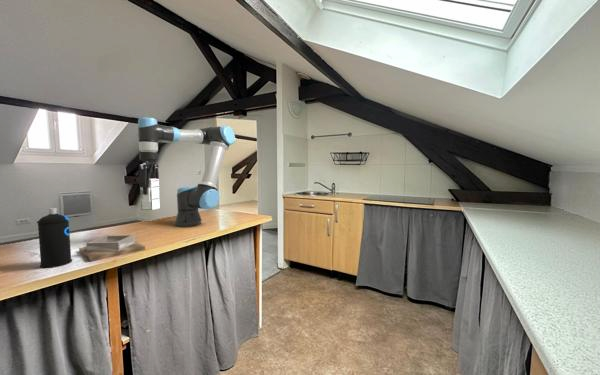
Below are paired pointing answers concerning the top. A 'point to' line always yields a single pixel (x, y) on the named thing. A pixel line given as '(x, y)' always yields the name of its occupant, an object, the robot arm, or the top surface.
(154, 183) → the syrup box
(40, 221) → the aerosol can
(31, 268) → the top surface
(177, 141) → the robot arm
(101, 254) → the socket holder
